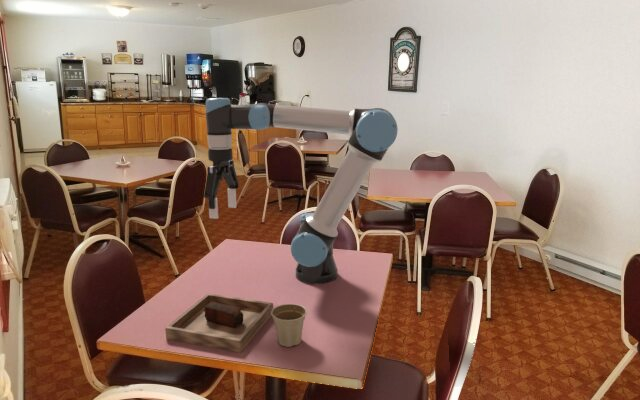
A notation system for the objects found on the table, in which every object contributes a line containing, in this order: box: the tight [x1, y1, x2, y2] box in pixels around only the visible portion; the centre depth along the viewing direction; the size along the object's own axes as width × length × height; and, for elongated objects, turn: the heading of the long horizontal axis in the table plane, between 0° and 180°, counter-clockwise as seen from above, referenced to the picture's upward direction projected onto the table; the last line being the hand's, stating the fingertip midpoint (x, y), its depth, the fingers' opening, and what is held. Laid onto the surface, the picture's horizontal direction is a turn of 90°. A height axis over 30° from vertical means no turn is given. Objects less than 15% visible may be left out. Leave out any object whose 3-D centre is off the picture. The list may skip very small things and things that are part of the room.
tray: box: [164, 292, 274, 353], centre depth 130 cm, size 22×22×3 cm
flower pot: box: [271, 303, 308, 348], centre depth 122 cm, size 9×9×9 cm
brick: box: [205, 302, 243, 328], centre depth 130 cm, size 11×4×5 cm, turn 67°
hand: (223, 212), depth 150 cm, fingers open, 13 cm apart
